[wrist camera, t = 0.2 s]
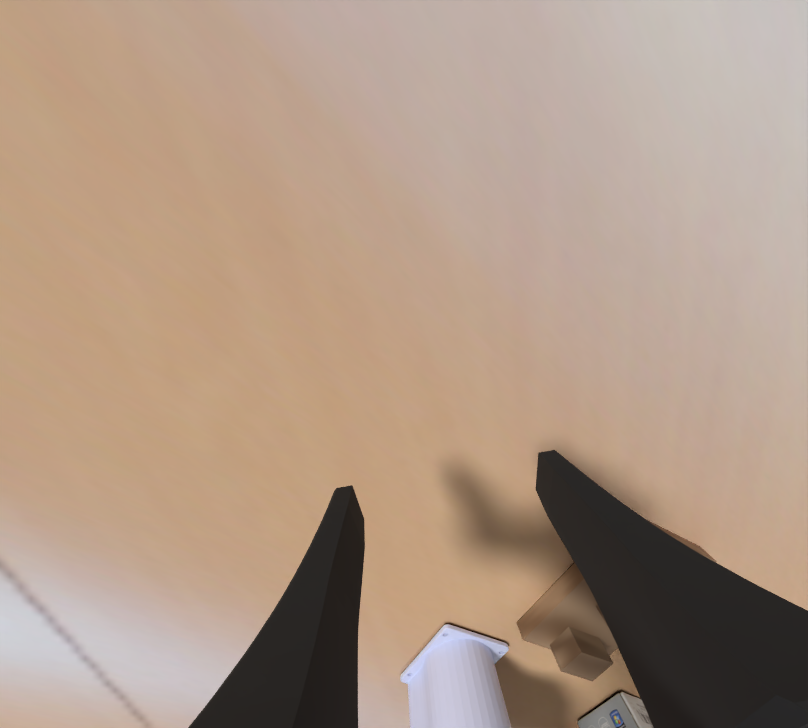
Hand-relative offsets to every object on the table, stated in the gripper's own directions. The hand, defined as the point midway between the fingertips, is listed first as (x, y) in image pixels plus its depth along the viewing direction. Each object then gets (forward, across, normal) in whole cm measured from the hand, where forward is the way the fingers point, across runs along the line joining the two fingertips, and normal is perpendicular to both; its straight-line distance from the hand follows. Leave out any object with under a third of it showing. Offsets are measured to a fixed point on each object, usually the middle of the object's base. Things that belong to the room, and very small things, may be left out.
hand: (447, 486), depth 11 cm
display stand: (+6, -15, +26) cm, 31 cm away
